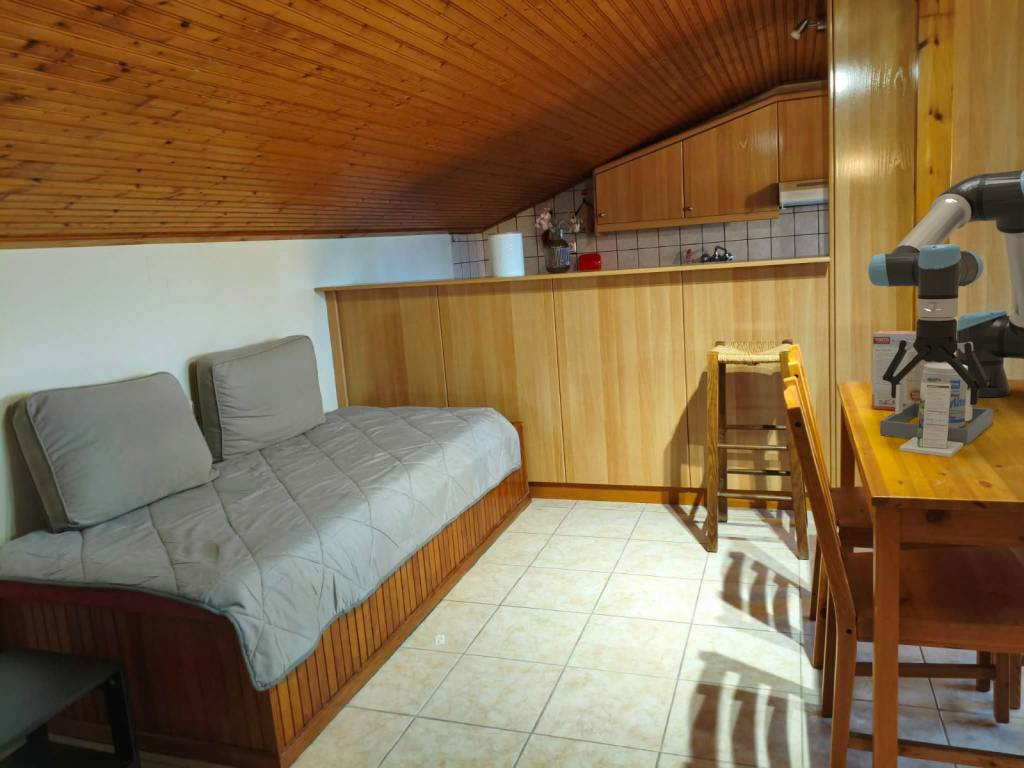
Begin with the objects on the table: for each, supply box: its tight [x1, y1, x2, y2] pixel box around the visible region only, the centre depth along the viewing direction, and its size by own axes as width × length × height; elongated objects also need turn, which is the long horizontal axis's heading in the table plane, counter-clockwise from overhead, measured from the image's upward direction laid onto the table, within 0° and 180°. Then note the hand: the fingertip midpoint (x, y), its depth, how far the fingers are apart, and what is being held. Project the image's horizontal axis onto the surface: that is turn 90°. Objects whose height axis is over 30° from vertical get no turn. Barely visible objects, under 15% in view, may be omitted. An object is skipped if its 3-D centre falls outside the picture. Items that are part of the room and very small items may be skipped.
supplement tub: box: [923, 362, 968, 428], centre depth 185 cm, size 10×10×15 cm
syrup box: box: [917, 377, 951, 448], centre depth 166 cm, size 6×6×14 cm
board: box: [899, 437, 964, 458], centre depth 167 cm, size 10×10×1 cm
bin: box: [879, 402, 994, 446], centre depth 182 cm, size 24×18×4 cm
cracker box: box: [871, 330, 936, 411], centre depth 202 cm, size 14×6×21 cm, turn 48°
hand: (932, 416), depth 166 cm, fingers open, 13 cm apart
